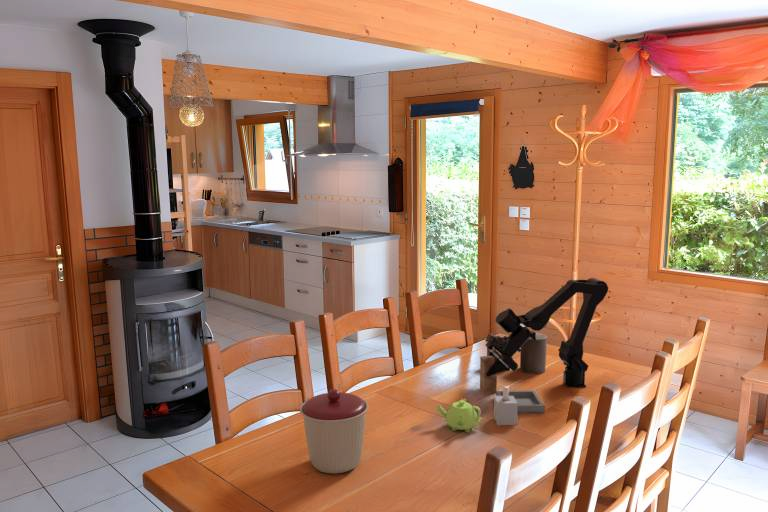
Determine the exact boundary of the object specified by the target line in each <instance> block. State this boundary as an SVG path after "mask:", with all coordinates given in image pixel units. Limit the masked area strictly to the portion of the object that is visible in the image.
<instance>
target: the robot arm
mask: <svg viewBox="0 0 768 512" xmlns="http://www.w3.org/2000/svg"><path fill="white" fill-rule="evenodd" d="M577 293H581V294H582V299H583V300H582V304H581V305H580V306H581V307H580V308H579V309H580V310H579V312H578V314H577V317H576V320H575V323H574V326H573V328H572V330H571V334H570V336H569V338H568V339H567V340H566V341H564V340H562V341H561V343H560V347H559V348H558V357H559V359H560V360H561V361H562V363H563V365H564V366H565V367H564V370H563V378H562V379H563V383H564V384H565V385H566V386H567V388H586V387H587V385H586V383H585V381H586V378H585V377H586V372H587V371H588V369H589V364H587V363H586V362H585V361H584V359H583V356H584V342H585V341H584V340H585V338H586V336H587V333H588V331H589V328H590V325H591V323H592V319H593V317H594V314H595V312H596V309H597V307H598V305H600V303H601V302H603V301H604V299H605V297H606V296H607V294H608V293H609V286H608V284H607V282H606V281H603V280H601V279H598V278H596V277H590V278H588V279H569V280H567V281H566V283H565V284H564V285H563V286H562V287H561V288H559V289H558V290H557V291H556V292H555V293H554V294H553V295H552V296H550V297H549V298H548V299H547V300H546V301H544V303H542V304H541V305H539V306H537V307H533V308H531V309H530V310H528V311H527V312H526V313H525V314H520V315H517V314H516V313H515V312H514V310H512V309H511V308H510V307H509V308H507V309H506V310H503V311H501V312H499V313H498V315H497V316H496V317H495V323H496V324H498V325H499V326H500V327H501V329H503V331H505V333H510V334H509V335H508V336H506V335H504V336H499V335H495V334H494V333H493V334H492V333H490V332H488V333H487V335H486V337H485V340H484V341H485V342H486V343H485V347H486V352H487V351H488V356H493V357H494V358H495V363H494V364H493V365H492V367H491V368H490V369H489V370H488V372H487V373H486V375H487V376H488V377H489V376H491V375H494V374H496V373H497V374H499V373H501V372H504V371H506V370H509V368H510V370H511V371H512V372H514V373H515V372H516V371H517V369H518V368H519V364H518V363H517V362H516V361H515V360H514V358H513V356H514V355H515V354H516V353H517V352H518V353H521V346H522V345H523V344H524V343H525V342H526V341H527V340H528V339H529V338H531V339H533V340H534V341H535V340H536V336H535V335H536V333H537V332H539V331H541V330H543V329H544V328H545V326H547V324H548V323H549V321H550V319H551V317H552V315H553V314H554V313H556V312H557V311H558V310H559V309H560V308H561V307H562V306H563V305H565V304H566V303H568V302H569V300H570V299H572V298H573V296H575V295H576V294H577ZM522 325H523V326H522ZM531 330H532V331H531ZM535 331H536V333H535ZM487 347H488V348H489V349H490V350H488V349H487ZM498 358H500V359H498ZM508 367H509V368H508ZM510 370H509V371H510Z"/></svg>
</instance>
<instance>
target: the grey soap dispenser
mask: <svg viewBox="0 0 768 512" xmlns="http://www.w3.org/2000/svg"><path fill="white" fill-rule="evenodd" d="M502 391H503V396H496V395H494V396H493V397H494V398H493V402H494V403H493V406H494V407H493V418H494V420H495V422H496V425H497V426H516V425H518V414H517V406H518V403H517V401H516V399H515V398H514V396H509V391H510V387H509V386H507V385H504V386H502Z"/></svg>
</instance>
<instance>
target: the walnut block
mask: <svg viewBox="0 0 768 512" xmlns="http://www.w3.org/2000/svg"><path fill="white" fill-rule="evenodd" d="M479 358H480V360H479V363H480V365H479V366H480V367H479V374H480V375H479V390H480V391H481V392H482V394H484V395H486V394H487V393H488V394H496V391H498V390H497V389H498V388H497V386H498V385H497V383H498V382H497V377H498V376H497V374H498V373H496V374H494V375H491V376H489V377H488V376H487V375H486V373H487V372H488V370H489V369H490V368H491V367H492V365H493V364H494V363H495V358H494V357H493V356H487V355H485V356H480V357H479Z"/></svg>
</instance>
